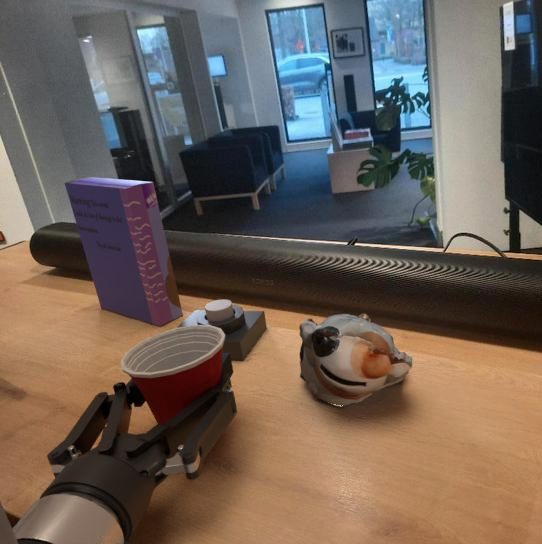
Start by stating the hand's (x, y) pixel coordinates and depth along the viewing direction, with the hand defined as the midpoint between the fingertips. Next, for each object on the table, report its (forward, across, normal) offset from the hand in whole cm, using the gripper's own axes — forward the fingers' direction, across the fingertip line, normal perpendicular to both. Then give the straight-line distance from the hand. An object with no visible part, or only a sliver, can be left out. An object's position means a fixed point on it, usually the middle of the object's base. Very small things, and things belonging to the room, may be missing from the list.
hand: (194, 363), depth 59 cm
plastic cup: (-5, 0, -7) cm, 8 cm away
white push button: (+17, -3, -2) cm, 17 cm away
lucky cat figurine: (+4, +19, -7) cm, 21 cm away
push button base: (+17, -4, -7) cm, 18 cm away
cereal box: (+28, -23, -7) cm, 37 cm away
